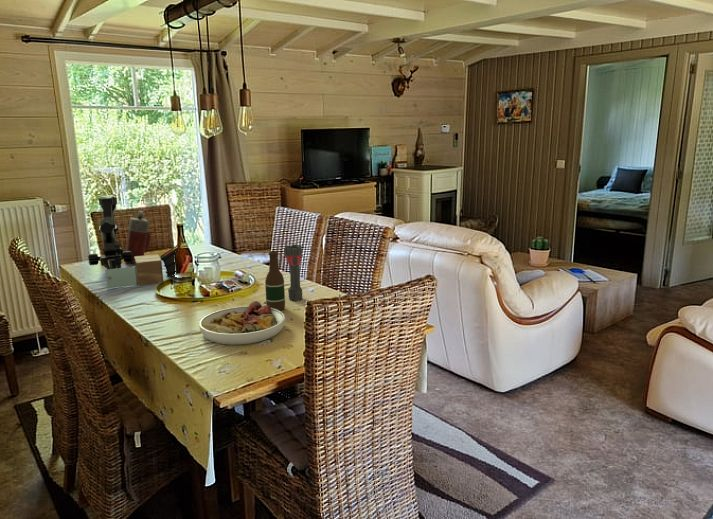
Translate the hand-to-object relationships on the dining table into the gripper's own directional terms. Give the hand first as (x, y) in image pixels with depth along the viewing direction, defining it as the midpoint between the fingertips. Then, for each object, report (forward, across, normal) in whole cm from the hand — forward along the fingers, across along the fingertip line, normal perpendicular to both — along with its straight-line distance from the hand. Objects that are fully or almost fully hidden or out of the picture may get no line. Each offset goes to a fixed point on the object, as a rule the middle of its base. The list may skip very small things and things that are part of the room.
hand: (112, 273), depth 249 cm
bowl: (+63, +42, -54) cm, 93 cm away
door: (+6, +4, +4) cm, 8 cm away
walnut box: (0, +16, +10) cm, 19 cm away
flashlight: (+42, +71, -33) cm, 89 cm away
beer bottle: (+50, +59, -41) cm, 87 cm away
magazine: (-4, +29, +14) cm, 32 cm away
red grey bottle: (-32, +12, +42) cm, 54 cm away
